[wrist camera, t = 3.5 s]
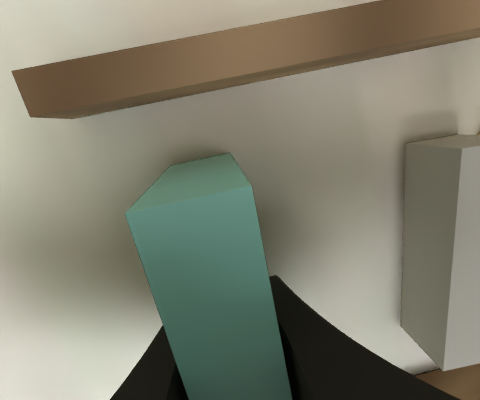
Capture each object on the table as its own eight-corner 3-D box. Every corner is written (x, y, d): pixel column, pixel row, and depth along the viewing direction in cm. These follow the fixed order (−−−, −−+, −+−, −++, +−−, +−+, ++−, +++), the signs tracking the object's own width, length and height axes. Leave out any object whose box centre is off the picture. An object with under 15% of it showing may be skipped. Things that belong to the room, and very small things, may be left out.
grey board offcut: (451, 134, 10) (528, 137, 8) (438, 313, 12) (494, 360, 10) (400, 142, 10) (462, 148, 7) (396, 322, 12) (443, 371, 10)
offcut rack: (618, -26, 9) (734, -68, 7) (550, 355, 13) (607, 395, 11) (60, 83, 8) (11, 71, 6) (193, 449, 12) (189, 508, 11)
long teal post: (229, 152, 9) (251, 186, 4) (276, 376, 12) (320, 546, 7) (170, 165, 9) (124, 213, 4) (232, 386, 12) (246, 567, 7)
